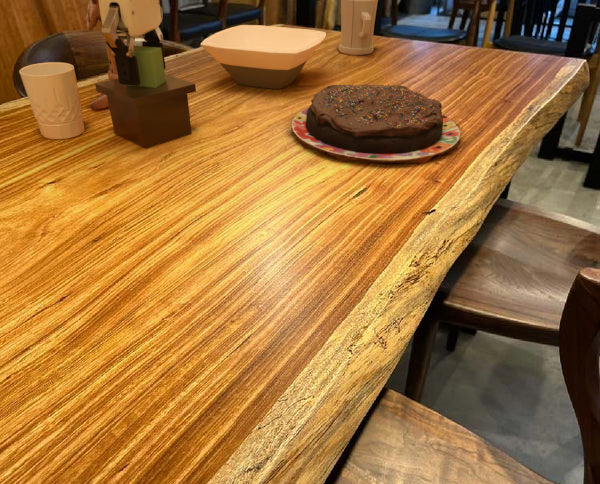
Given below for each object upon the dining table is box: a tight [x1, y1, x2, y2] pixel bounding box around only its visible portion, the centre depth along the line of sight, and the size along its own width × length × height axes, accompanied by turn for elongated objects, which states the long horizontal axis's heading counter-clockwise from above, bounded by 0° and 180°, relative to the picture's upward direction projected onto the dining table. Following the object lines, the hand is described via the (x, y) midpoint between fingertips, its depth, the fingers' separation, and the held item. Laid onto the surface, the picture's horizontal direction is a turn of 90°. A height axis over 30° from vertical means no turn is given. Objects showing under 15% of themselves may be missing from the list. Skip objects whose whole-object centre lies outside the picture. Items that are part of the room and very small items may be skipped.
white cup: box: [18, 61, 85, 140], centre depth 85 cm, size 8×8×10 cm
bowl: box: [199, 24, 327, 90], centre depth 111 cm, size 22×23×8 cm
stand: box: [94, 73, 197, 149], centre depth 86 cm, size 11×11×8 cm
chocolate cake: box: [290, 84, 462, 164], centre depth 88 cm, size 28×28×7 cm
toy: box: [127, 45, 166, 88], centre depth 82 cm, size 5×4×5 cm
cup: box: [338, 0, 379, 56], centre depth 131 cm, size 10×9×12 cm
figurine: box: [83, 0, 126, 110], centre depth 95 cm, size 11×8×20 cm
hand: (143, 76), depth 83 cm, fingers open, 8 cm apart
